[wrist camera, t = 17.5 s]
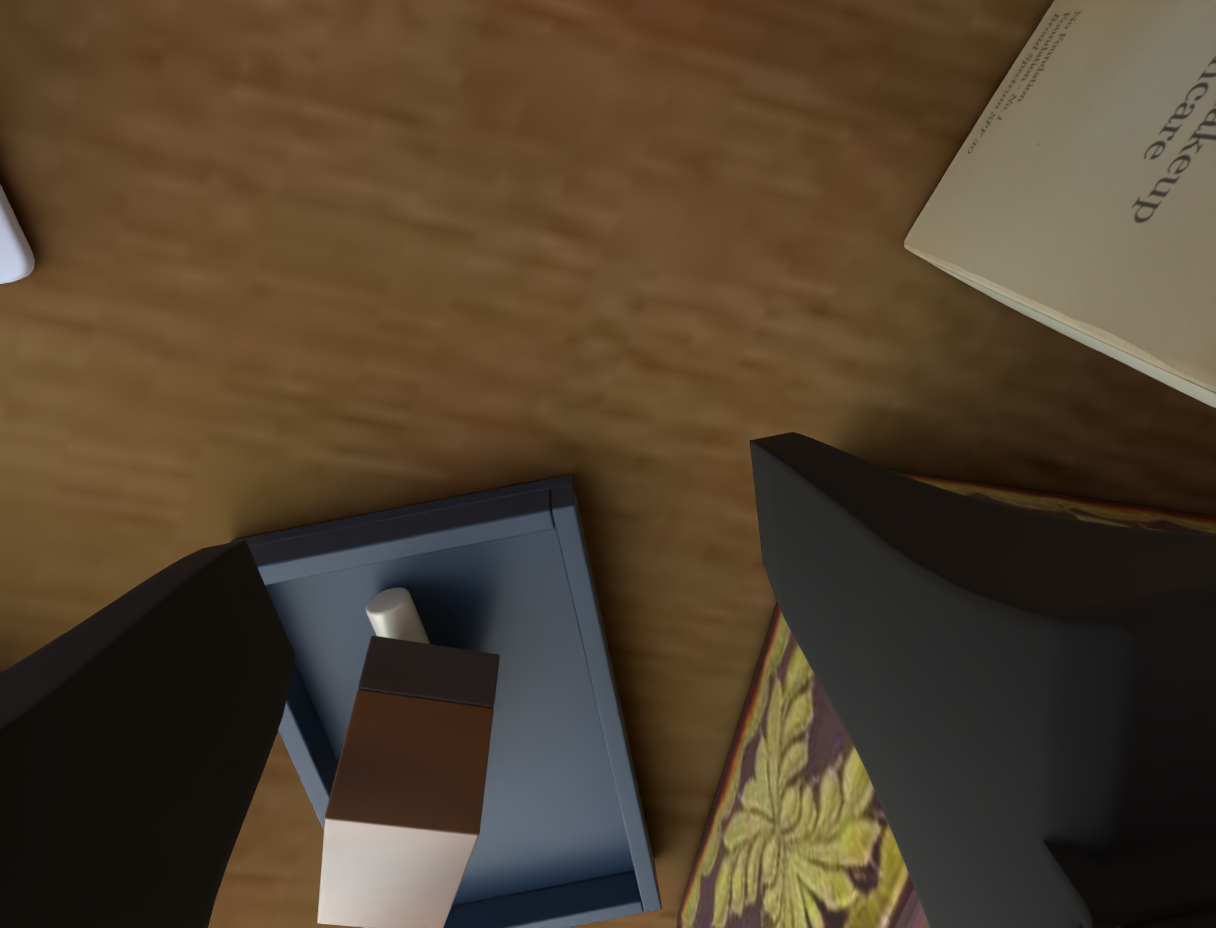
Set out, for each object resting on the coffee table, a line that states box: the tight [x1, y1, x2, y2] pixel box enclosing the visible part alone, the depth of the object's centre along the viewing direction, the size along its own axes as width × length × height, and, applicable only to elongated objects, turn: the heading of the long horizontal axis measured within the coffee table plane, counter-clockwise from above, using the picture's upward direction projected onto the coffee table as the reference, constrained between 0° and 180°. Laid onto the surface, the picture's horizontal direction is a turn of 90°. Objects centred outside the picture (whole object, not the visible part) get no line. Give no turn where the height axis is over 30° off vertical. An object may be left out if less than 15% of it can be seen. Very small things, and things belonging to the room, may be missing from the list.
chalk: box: [366, 587, 431, 644], centre depth 22 cm, size 1×3×1 cm
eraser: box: [317, 636, 500, 928], centre depth 20 cm, size 6×3×4 cm, turn 165°
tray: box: [230, 475, 662, 928], centre depth 24 cm, size 9×15×2 cm, turn 10°
